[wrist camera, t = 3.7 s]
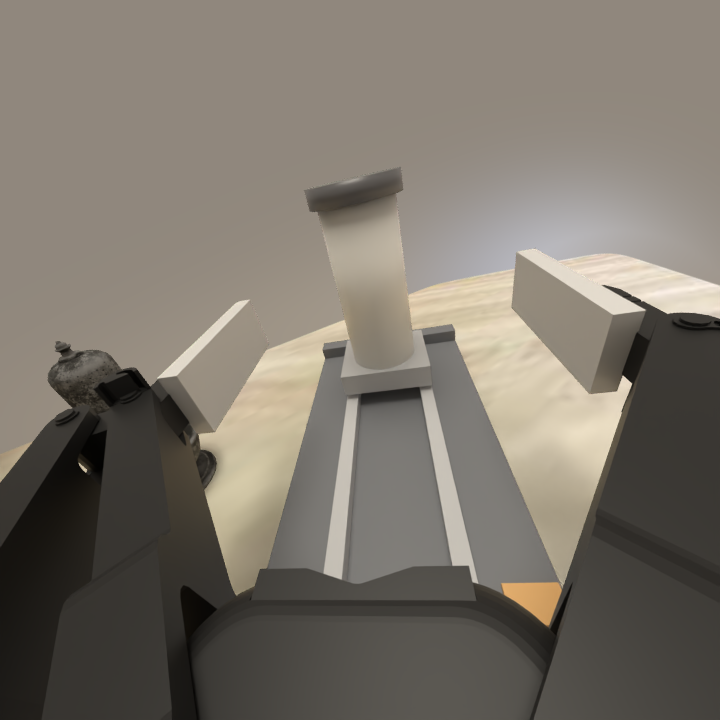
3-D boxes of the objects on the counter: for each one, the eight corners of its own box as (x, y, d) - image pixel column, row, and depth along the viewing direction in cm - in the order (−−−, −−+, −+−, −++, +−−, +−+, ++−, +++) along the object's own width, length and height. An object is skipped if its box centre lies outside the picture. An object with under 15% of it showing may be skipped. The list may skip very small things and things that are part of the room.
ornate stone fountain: (124, 495, 21) (-25, 361, 15) (197, 438, 25) (103, 311, 19) (156, 538, 18) (-19, 389, 12) (235, 465, 22) (136, 321, 15)
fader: (345, 396, 21) (285, 195, 14) (351, 356, 25) (307, 188, 18) (432, 385, 20) (413, 165, 13) (422, 345, 24) (404, 165, 17)
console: (210, 896, 8) (148, 918, 7) (332, 367, 30) (324, 342, 28) (698, 978, 6) (776, 1039, 5) (452, 351, 28) (451, 323, 26)
